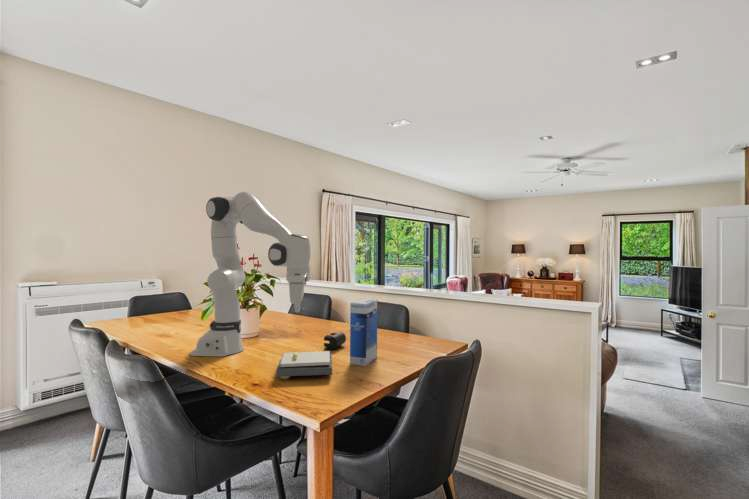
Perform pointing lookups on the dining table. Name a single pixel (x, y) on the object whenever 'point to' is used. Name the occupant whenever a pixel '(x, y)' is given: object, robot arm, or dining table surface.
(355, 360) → the string lights box
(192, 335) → the dining table surface
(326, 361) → the level plate
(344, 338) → the end cap
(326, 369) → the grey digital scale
